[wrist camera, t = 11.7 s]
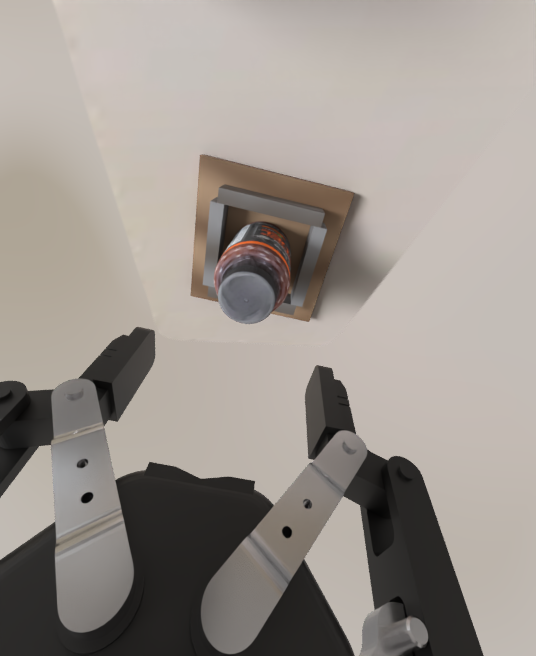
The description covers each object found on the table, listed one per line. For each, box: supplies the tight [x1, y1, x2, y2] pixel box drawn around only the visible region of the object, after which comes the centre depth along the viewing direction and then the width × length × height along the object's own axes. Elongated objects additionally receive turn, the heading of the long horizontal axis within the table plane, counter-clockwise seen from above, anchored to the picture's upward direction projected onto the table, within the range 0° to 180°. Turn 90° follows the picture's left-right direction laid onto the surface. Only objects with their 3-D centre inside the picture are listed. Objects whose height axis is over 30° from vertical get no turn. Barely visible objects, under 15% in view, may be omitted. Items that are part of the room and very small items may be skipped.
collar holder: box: [191, 155, 354, 322], centre depth 28 cm, size 14×14×4 cm
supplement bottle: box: [214, 221, 291, 324], centre depth 24 cm, size 6×6×11 cm
